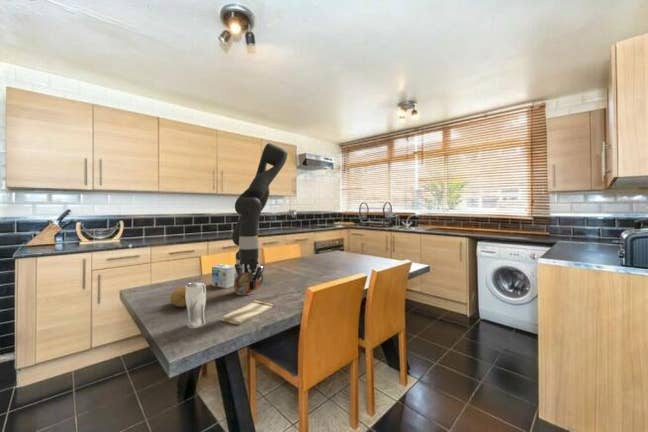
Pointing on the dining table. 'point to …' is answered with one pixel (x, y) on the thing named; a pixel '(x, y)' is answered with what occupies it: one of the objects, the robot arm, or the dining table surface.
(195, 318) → the beer glass
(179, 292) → the potato
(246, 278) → the tin
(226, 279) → the light bulb box
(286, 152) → the robot arm
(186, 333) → the dining table surface
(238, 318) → the board
